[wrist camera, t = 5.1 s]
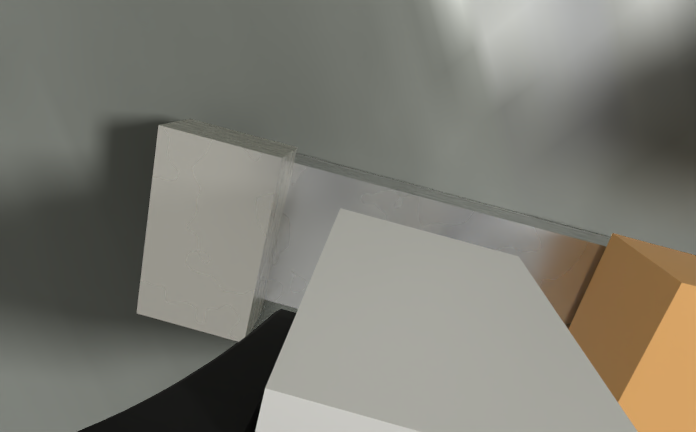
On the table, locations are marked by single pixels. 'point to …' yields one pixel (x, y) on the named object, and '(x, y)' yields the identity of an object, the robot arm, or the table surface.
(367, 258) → the block
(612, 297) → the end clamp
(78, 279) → the table surface
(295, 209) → the mounting rail
